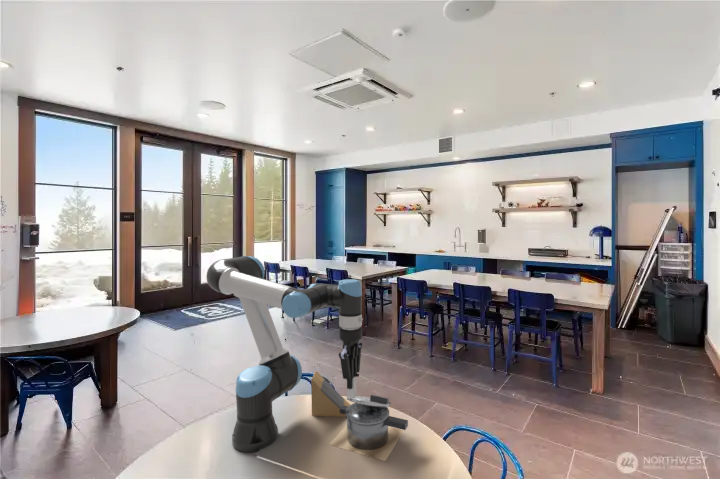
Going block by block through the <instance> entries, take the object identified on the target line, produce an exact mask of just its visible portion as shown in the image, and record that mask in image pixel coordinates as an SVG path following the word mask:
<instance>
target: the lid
mask: <svg viewBox="0 0 720 479" xmlns="http://www.w3.org/2000/svg"><path fill="white" fill-rule="evenodd" d="M347 400H348V401H349V402H353V403H359V404H364V405H369V406H376V407H387V408H389V407H390V405H392V402H390V398H389V397H384V396H380V395H375V394H370V397H368V396H364V395H362V396H359V395H356V397H355V398H350V397H347V396H346V401H347Z"/></svg>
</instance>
